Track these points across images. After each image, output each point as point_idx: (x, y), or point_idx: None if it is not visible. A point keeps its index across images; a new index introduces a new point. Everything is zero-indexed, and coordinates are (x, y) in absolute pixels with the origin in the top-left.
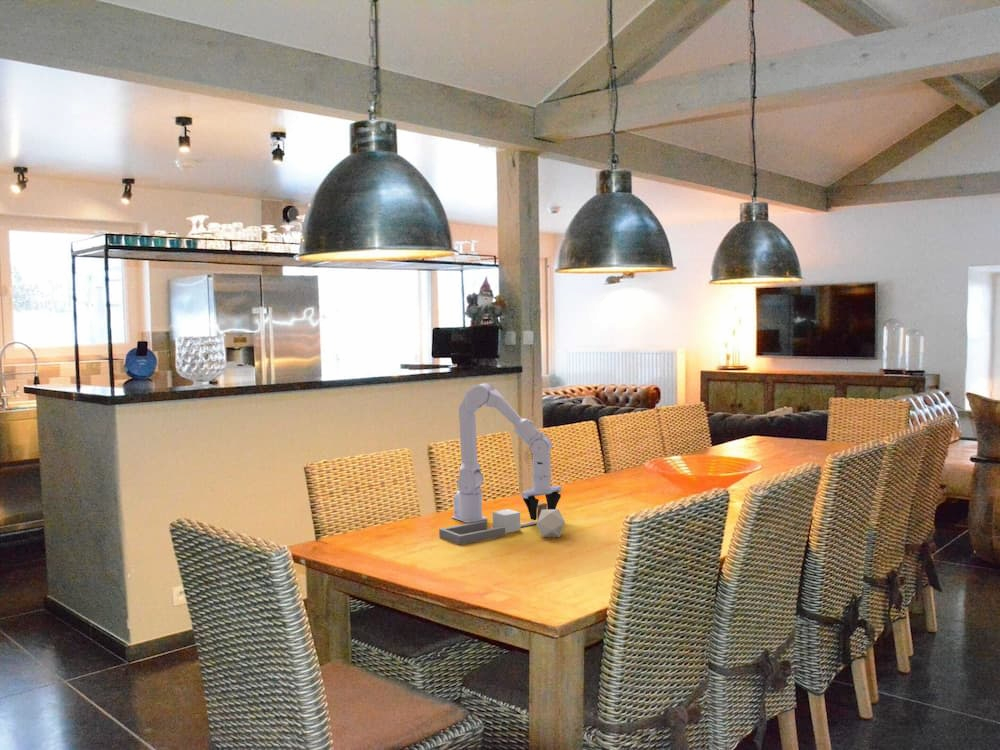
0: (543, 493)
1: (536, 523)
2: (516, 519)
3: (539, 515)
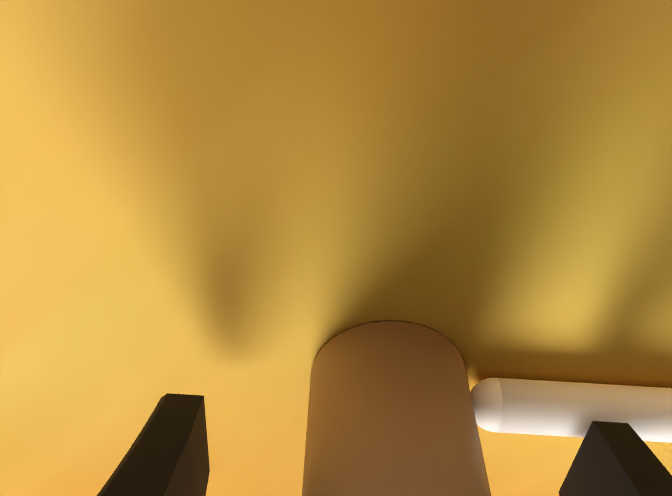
0: None
1: (533, 381)
2: None
3: (488, 490)
